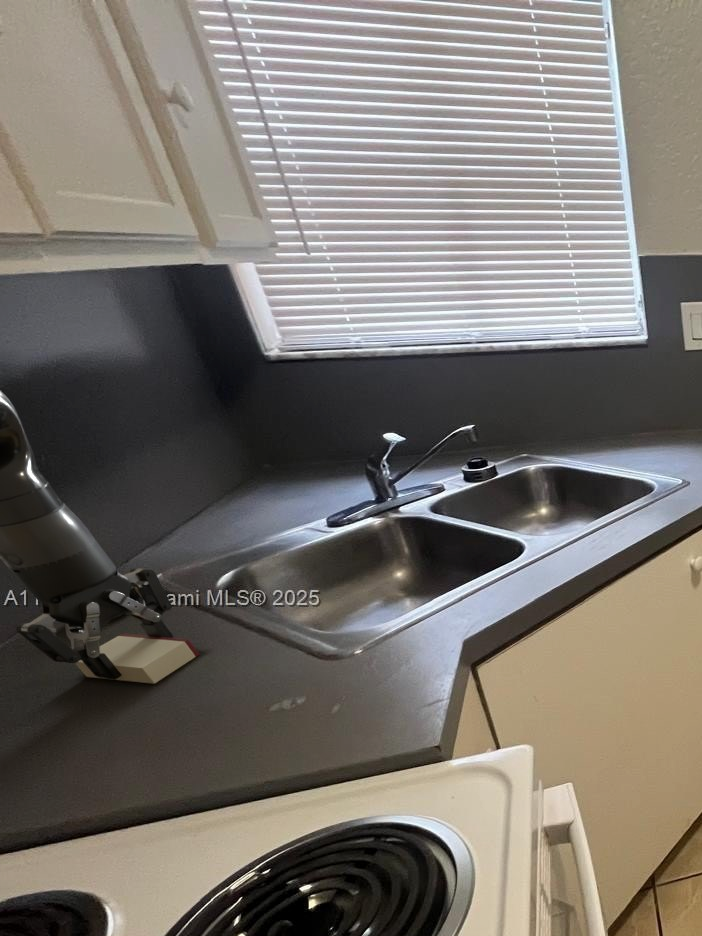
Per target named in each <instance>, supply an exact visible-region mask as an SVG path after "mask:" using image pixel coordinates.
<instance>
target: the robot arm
mask: <svg viewBox="0 0 702 936" xmlns="http://www.w3.org/2000/svg"><path fill="white" fill-rule="evenodd" d="M0 560H1V561H2V562H3V563H4V564H5V565H6V567H7V568H8V570H10V571H11V573H12V574H13V575H14V576H15V577H16V578H17V579H18V581H19V582H20V583H21V584H22V585H23V586H24V587H25V589H26V590H27V591H28V593H30V594H31V595H32V597H33V598H35V600H37V601H38V602H39V603H40V605H41V613H42V614H40V615H39V616H38V617H36V618H35V619H33V620H31V621H30V622H28V623H27V622H24V623H19V624H18V625H17V626H16V628H15V629H16V630H15V631H16V632H17V633H19V634H20V635H21V636H22V637H23V638H24V639H26V640H27V641H28V642H29V643H31V644H32V645H33V646H35V647H36V648H37V649H38V650H39V651H41V652H42V653H43V654H44V655H46V656H47V657H48V658H50V659H51V660H52V661H53V662H55V663H56V662H57V663H68V664H75V663H77V662H78V661H80V660H82V661H83V662H84V664H85V665H86V666H87V667H88V668H89V669H90V671H91V672H92V673H93V674H94V675H95V676H97V677H99V678H98V679H104V678H107V679H106V680H114V679H117V678H119V677H120V676H122V675H121V673H120V672H119V671H118V670H117V668H116V667H115V666H114V664H113V663H112V662H111V661H110V659H109V658H108V657H107V656H106V655H105V654H104V653H100V648H99V647H100V639H101V637H102V632H101V627H104V626H105V625H107V624H108V623H110V622H111V621H112V620H113V619H117V618H119V617H122V616H124V615H126V616H128V617H129V618H132V619H134V620H136V621H139V622H141V623H139V626H140V627H141V629H142V630H143V632H144V633H146V636H155V637H167V638H174V635H173V633H172V631H170V629H169V628H168V627H167V625H166V624H165V623H164V621H163V620H162V616H163V614H165V612H168V611H170V610H171V609H172V608H173V605H172V603H171V601H170V599H169V597H168V595H167V593H166V591H165V588H164V587H163V584H162V583H161V580H160V579H159V577H158V575H157V573H156V571H155V570H154V569H152V568H139V567H138V568H137V567H135V568H131V569H130V570H129V572H128V573H125V574H122V573H120V572H119V571H118V570H117V566H116V565H115V564H114V562H113V561H112V559H111V558H110V557H109V556H108V554H107V553H106V552H105V550H104V549H103V548H102V547H101V545H100V544H99V543H98V541H97V540H96V538H95V537H94V536H93V534H92V533H91V530H90V529H89V528H88V527H86V525H85V524H84V523H83V521H82V520H81V519H80V517H78V516H77V515H76V514H75V513H74V511H72V510H71V509H70V508H69V507H68V505H66V503H65V502H64V501H63V499H62V498H61V497H60V495H59V494H58V493H57V491H56V490H55V489H54V488H53V486H52V485H51V484H50V482H49V481H48V480H47V479H46V477H45V476H44V475H43V474H42V472H41V471H40V470H39V466H38V463H37V461H36V458H35V454H34V451H33V449H32V445H31V444H30V440H29V438H28V434H27V432H26V429H25V427H24V425H23V422H22V420H21V417H20V416H19V413H18V411H17V409H16V408H15V405H14V404H13V403H12V401H10V399H9V398H8V396H7V395H6V394H5V393H3V392H2V390H0ZM130 583H131V584H132V586H134V587H137V589H138V590H139V592H140V594H141V596H142V598H143V600H142V601H143V602H144V604H145V605H144V604H143V603H141V602H137V601H135V600H133V599H131V598H129V594H130ZM55 622H59V623H62V624H64V625H65V633H66V637H67V638H68V639H69V640H70V645H68V644H67V643H66V642H65V641H63V640H62V639H61V638H60V637H59V636H58V635H57V634H56V633H57V629H56V627H55V626H54V623H55Z"/></svg>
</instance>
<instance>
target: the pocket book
mask: <svg viewBox="0 0 702 936" xmlns="http://www.w3.org/2000/svg"><path fill="white" fill-rule="evenodd" d="M99 648H100V653H104V654H105V655H106V656H107V657H108V658H109V659H110V661H111V662H112V663H113V664H114V666H115V667H116V668H117V670H118V671H119V672H120V673H121V675H122V676H120V677H119V678H117V679H113V680H114V681H115V680H116V681H122V682H123V681H125V682H132V683H133V682H135V683H145V684H153V685H154V684H157V683H158V682H159V681H162V680H163V679H164V678H165V677H167V676H169V675H170V674H172V673H173V672H175V671H176V670H178V669H179V668H181V667H183V666H184V665H186V664H187V663H189V662H190V661H192V660H193V659H195V658H196V657H198V656H199V655H200V653H199V651H198V650H197V649H196V647H195V646H194V645H193V644H192V642H191V641H190V640H189V639H188V638H179V637H178V638H177V637H173V638H167V637H155V636H148V635H142V634H130V633H121V634H119V635H117V636H115V637H114V638H112V639H110V640H108V641H107V642H105V643H103V644H101V645H99ZM74 665H75V666H77V668H78V669H79V670H80V672H81V673H83V674H84V676H85V677H86V678H94V679H100V678H99V677H97V676H95V675H94V674H93V673H92V672H91V671H90V669H89V668H88V667H87V666H86V665H85V664H84V662H83V661H82V660H80V661H78V662H77V663H74ZM103 679H105V680H108V679H107V678H103Z"/></svg>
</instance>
